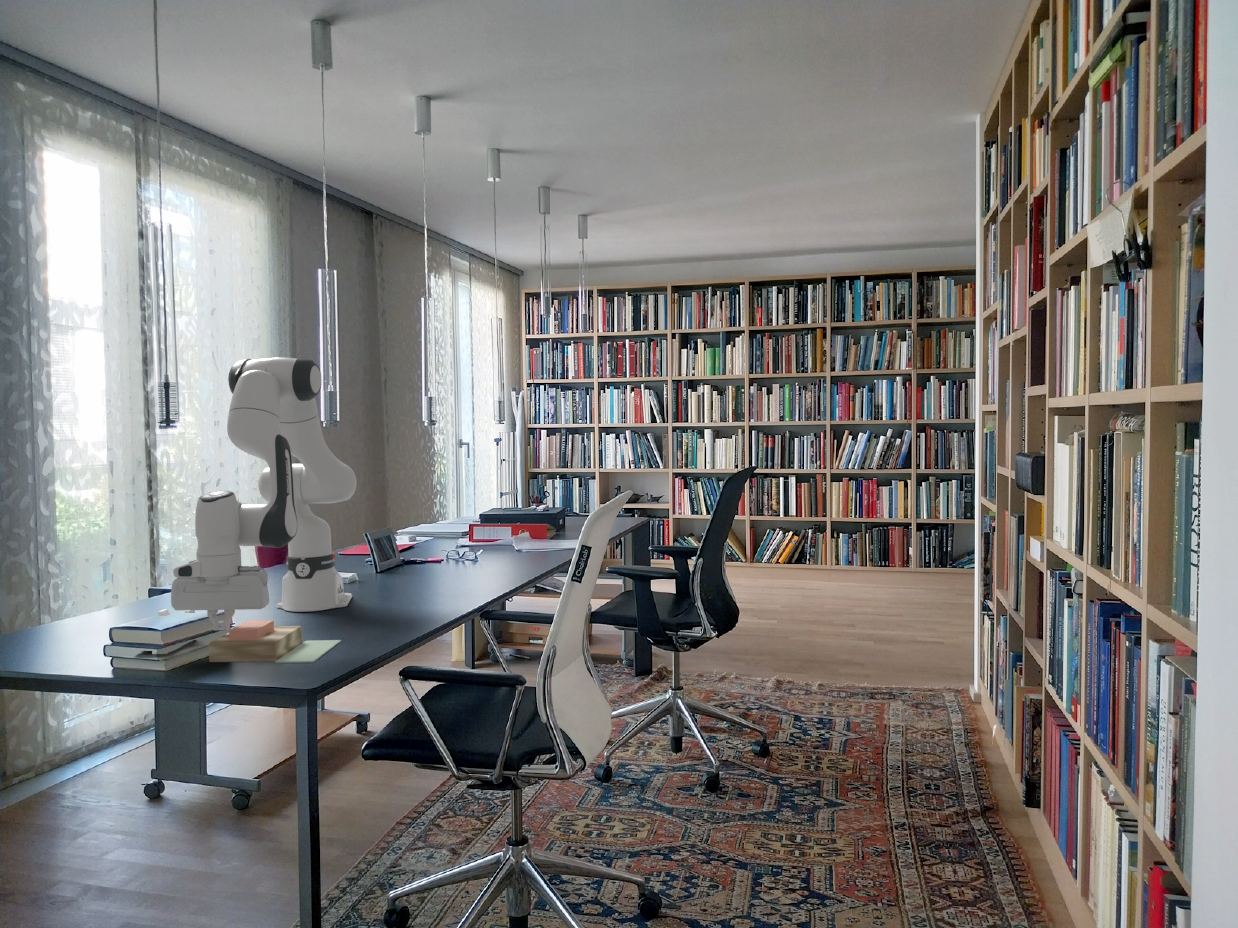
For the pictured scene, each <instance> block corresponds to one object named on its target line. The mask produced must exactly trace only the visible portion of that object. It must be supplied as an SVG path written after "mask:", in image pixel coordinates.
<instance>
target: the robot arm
mask: <svg viewBox="0 0 1238 928" xmlns="http://www.w3.org/2000/svg"><path fill="white" fill-rule="evenodd" d="M227 378H228V381H227V382H228V387H229V391H230V392H231V394H232V396H231V401H230V405H229V411H228V416H227V423H226V424H227V425H226V430H227V431H226V432H227V436H228V438H229V440H230V442H231V443H232V444H233V445H234V446H235V447H237V448H238V449H239V450H241V451H243V452H244V453H246V454H248V455H252V456H253V457H256V458H259V459H262V460H264V461H265V462H266V463H267V465H268V466H267V467H265V468H264V469H263V471H262V472H261V473H260V475H259V477H258V480H257V481H258V483H257V486H258V491H259V493H260V495H261V497H262V498H263V499H264V500H265V501H266V503H246V502H245V503H244V502H242V501H238V500H237V497H236V493H235V492H233V491H231V490H214V491H210V492H206V493H204V494H202V495H200V496H199V497H198V498H197V502H196V507H195V516H194V517H195V518H194V520H195V521H194V523H195V524H194V525H195V527H194V529H195V537H196V539H197V549H196V553H195V554H196V555H195V558H196V559H195V560H194V559H193V560H190V561H189V562H188V563H183V564H181V565H179V566H176V567H175V568H173V576H174V577H175V579H174V580H173V581H172V584H171V588H170V604H171V605H170V606H171V608H173V610H175V611H187V610H195V611H207V612H206V614H207V616H208V618H209V619H210V621H211V622H212V625H213V626H212V627H213V628H212V629H213V631H229V630H230V628H231V620H232V618H233V617H234V615H235V613H236V611H237V610H239V611H240V610H242V611H244V610H262V609H265V608H267V606H268V605H269V603H270V594H269V589H268V582H269V581H268V575H269V574H268V572H267V570H266V569H264V568H263V567H261V566H260V565H259V566H258V565H254V566H248V565H247V566H246V565H242V549H241V547H263V548H275V549H282V548H283V547H285V546H286V545H287V548H288V549H287V550H288V553H287V554H288V555H287V556H286V568H287V573H285V575H284V576H282V583H281V587H282V588H281V601H280V602H278V603H276V608H277V609H282V610H284V611H288V612H297V613H298V612H299V613H300V612H301V613H302V612H319V611H324V610H331V609H336V608H345V607H347V606H348V605H349V603H350V601H351V599H352V598H353V594H352V593H349V592H344V578H343V577H342V575H341V574H340V573H339V571H338V570H337V569H336V567H335V566H336V564H335V561H336V558H337V554H336V552H332V551H333V550H332V530H331V526H330V524H329V523H328V521H326V520H325V519H323V518H322V517H319V516H317V515H315V513H313V512H312V510H311V508H310V505H313V504H314V505H316V504H321V505H322V504H335V503H341V502H344V501H345V502H346V501H348V500H350V499H351V498H352V497H353V495H354V494H355V493H356V489H357V482H358V480H357V477H356V474H355V472H354V470H353V469H352V468H351V467H350V466H349V465H347V464H346V463H344V461H343V462H342V461H341V460H340V459H339V458H338V457H336V456H335V455H334V453H333V452H332V451H331V450H330V448H329V446H328V445H327V443H326V441H325V437H324V434H323V430H322V426H321V421H320V416H319V415H320V414H319V410H318V404H317V400H316V397H317V396H318V394H319V393H320V391H321V388H322V373H321V369H320V368H319V365H318V364H316V362H315V361H314V360H312V359H309V358H303V357H298V358H294V357H283V356H279V357H278V356H275V357H274V356H273V357H266V358H265V357H264V358H255V359H251V358H246V359H242V360H241V359H240V360H238V361H237V362H235V363H233V365H232V366H231V368H230V369H229V373H228V377H227ZM292 456H293V457H295V458H296V459H297V460H298V461H299V463H295V462H294V463H293V462H292V461H293V459H292ZM219 611H223V613H224V615H226V616H225V618H224V620H220V618H219V617H218V615H217V614H218V613H219Z"/></svg>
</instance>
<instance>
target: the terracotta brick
mask: <svg viewBox="0 0 1238 928" xmlns="http://www.w3.org/2000/svg"><path fill="white" fill-rule="evenodd" d="M274 626H275V621H274V620H246V621H244V622H241V623H240V624H238V625H236V626H235V627H233V628H231V629H229V630H228V633H229V640H232V639H259V638H260V637H262V636H264V635H265V634H267V633H269V632H270V631H272V630H274Z"/></svg>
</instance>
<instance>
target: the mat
mask: <svg viewBox="0 0 1238 928" xmlns="http://www.w3.org/2000/svg"><path fill="white" fill-rule="evenodd" d="M341 642H342V640H341V639H331V640H330V639H327V640H326V639H323V640H320V639H319V640H314V639H313V640H305V641H302V644H300V645H299V646H297V647H296V648H294V649H293V650H291V651H290V652H289V653H287V654H286V655H284V656H283V657H281V658H280V659H278V660H277V661H274V663H275V664H297V663H298V664H302V663H303V664H304V663H305V664H307V663H308V664H310V663H311V664H312V663H315V662H316V661H318V660H319V659H320V658H322V657H323V656H325V654H327V653H328V652H329V651H331V650H332V649H333V648H335V647H336V646H337V645H339V644H340V643H341Z"/></svg>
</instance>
